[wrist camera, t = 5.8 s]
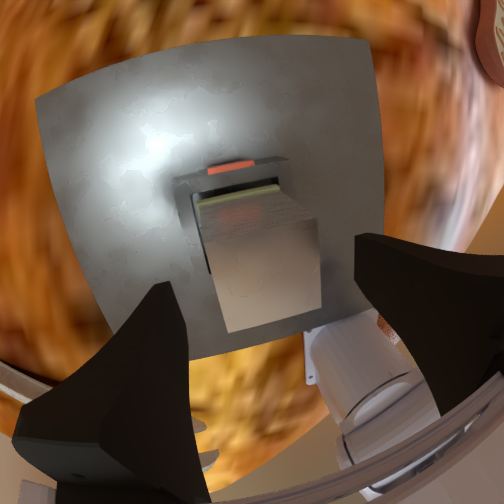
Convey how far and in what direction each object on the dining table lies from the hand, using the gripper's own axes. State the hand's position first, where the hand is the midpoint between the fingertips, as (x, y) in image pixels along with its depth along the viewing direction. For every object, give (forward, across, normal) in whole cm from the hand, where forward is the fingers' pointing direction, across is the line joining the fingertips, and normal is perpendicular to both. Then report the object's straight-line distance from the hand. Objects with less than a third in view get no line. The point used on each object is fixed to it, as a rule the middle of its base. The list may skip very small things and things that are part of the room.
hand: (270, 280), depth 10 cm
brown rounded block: (+10, -34, -20) cm, 40 cm away
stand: (+9, 0, 0) cm, 9 cm away
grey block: (+5, 0, 0) cm, 5 cm away
